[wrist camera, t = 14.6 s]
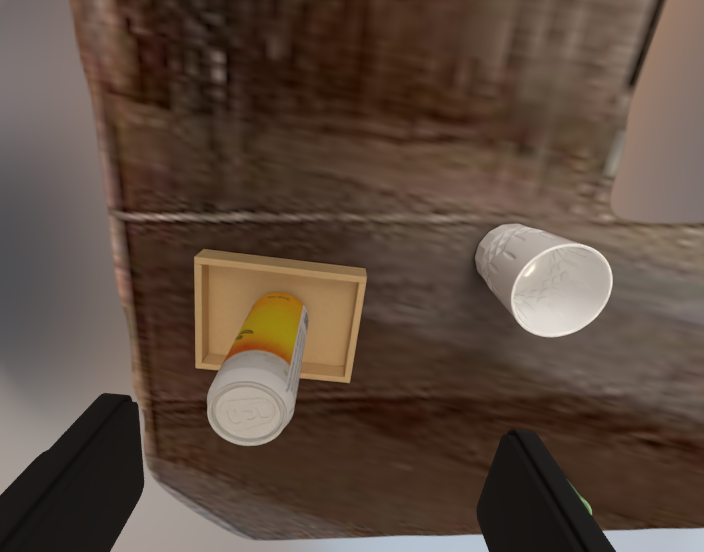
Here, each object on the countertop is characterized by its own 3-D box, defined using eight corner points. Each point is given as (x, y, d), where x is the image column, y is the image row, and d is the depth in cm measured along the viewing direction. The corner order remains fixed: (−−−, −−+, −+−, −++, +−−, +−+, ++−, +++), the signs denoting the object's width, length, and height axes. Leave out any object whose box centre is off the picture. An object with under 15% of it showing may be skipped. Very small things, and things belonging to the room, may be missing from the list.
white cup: (530, 294, 39) (590, 342, 30) (460, 285, 39) (498, 331, 29) (555, 223, 37) (629, 251, 27) (480, 211, 36) (529, 237, 27)
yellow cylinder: (244, 295, 38) (187, 388, 24) (301, 283, 37) (277, 369, 23) (261, 345, 40) (219, 457, 26) (315, 333, 39) (302, 441, 25)
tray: (203, 248, 36) (193, 256, 34) (365, 268, 38) (367, 277, 35) (204, 354, 41) (195, 368, 38) (349, 369, 42) (349, 383, 39)
